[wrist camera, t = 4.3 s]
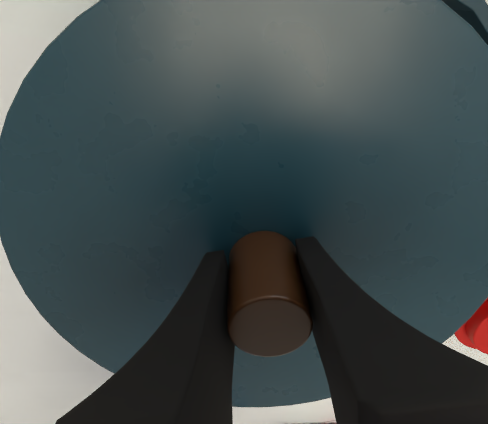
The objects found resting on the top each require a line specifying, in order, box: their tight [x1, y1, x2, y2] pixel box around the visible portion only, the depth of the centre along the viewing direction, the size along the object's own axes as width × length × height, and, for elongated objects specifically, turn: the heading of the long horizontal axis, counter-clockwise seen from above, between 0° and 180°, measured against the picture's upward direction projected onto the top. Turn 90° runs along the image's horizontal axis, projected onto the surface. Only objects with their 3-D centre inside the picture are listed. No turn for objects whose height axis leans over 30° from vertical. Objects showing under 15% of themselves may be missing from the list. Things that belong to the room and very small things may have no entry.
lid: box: [0, 0, 488, 407], centre depth 12 cm, size 18×18×4 cm
